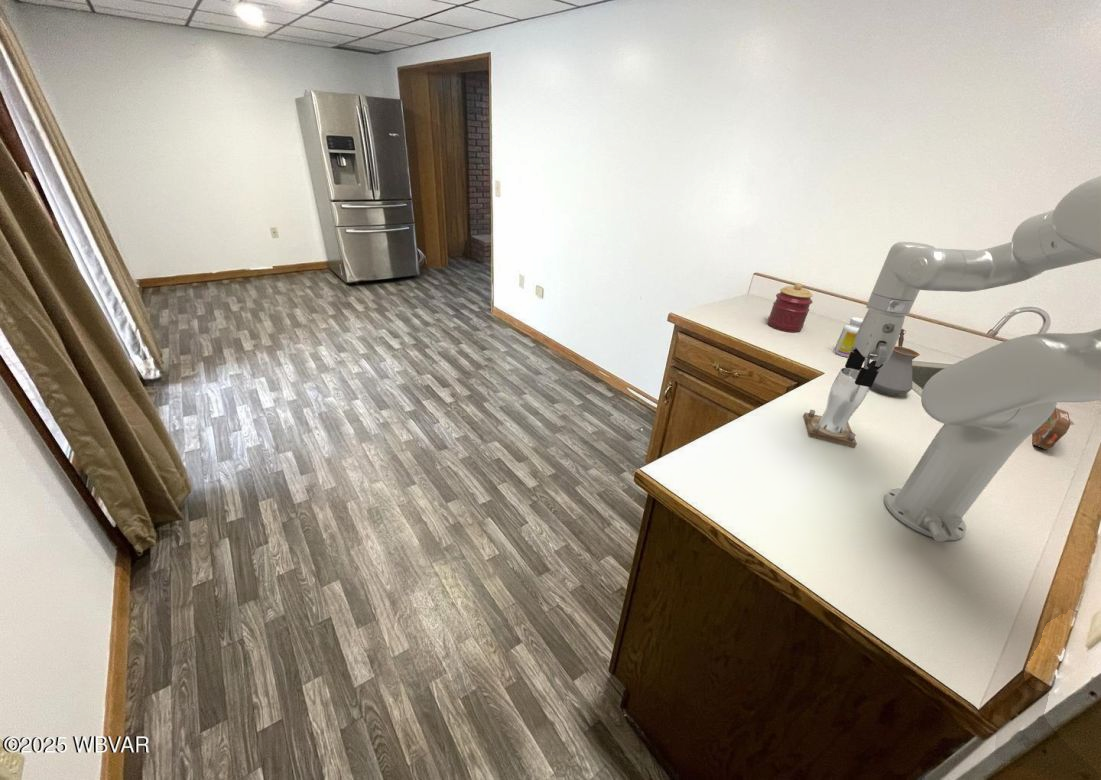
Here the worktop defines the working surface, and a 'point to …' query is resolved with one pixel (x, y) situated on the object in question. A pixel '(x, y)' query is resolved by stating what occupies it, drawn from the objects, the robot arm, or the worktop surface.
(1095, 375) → the robot arm
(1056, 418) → the brown snack package
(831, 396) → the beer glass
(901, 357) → the coffee pot
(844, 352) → the supplement bottle
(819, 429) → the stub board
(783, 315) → the canister
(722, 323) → the worktop surface
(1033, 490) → the worktop surface
